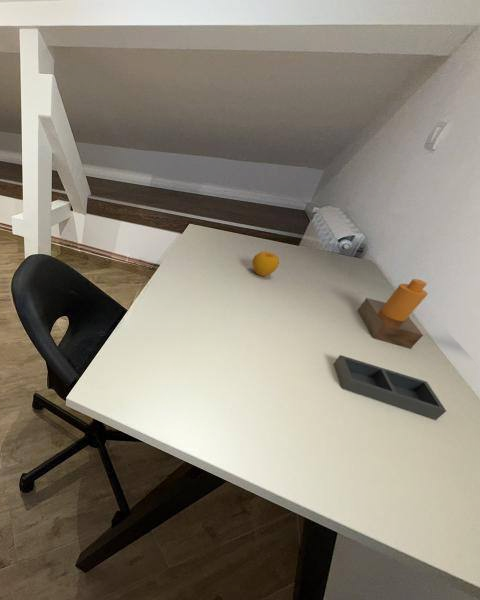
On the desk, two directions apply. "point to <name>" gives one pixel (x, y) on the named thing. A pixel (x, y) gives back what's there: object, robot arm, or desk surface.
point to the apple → (265, 263)
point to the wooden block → (388, 325)
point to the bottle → (404, 300)
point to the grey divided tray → (388, 387)
